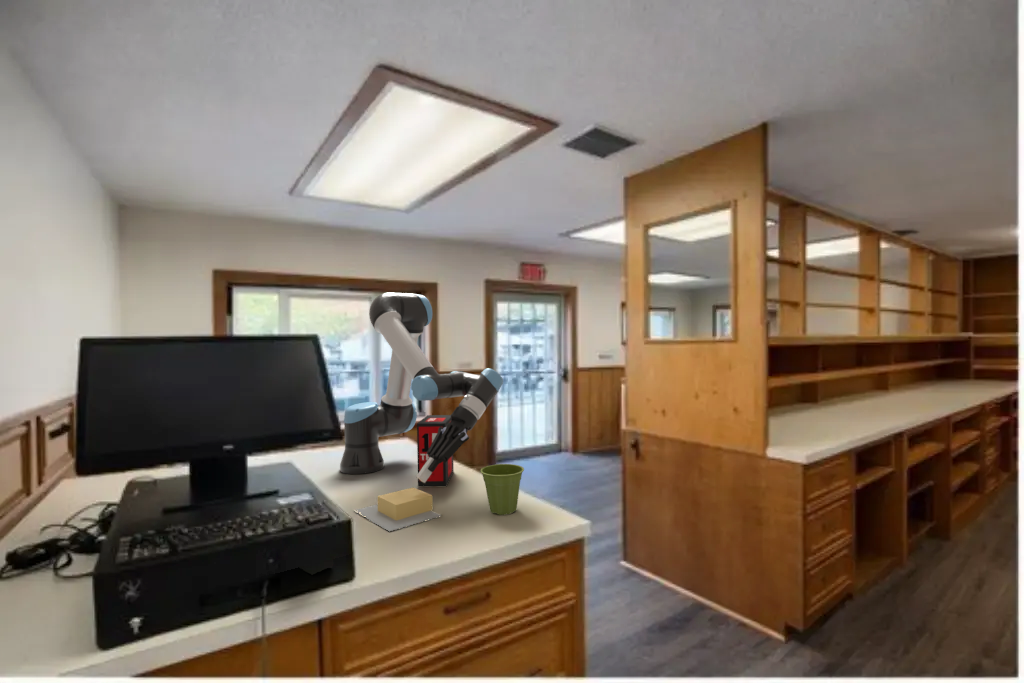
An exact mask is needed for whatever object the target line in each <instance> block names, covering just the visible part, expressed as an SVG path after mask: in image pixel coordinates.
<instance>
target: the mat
mask: <svg viewBox="0 0 1024 683" xmlns="http://www.w3.org/2000/svg"><path fill="white" fill-rule="evenodd" d="M356 510H358V513H359V512H361V514H362V515H363V516H366V518H367V519H369V520H370V521H369V520H368V521H369V522H371V521H372V522H371V523H373V524H374V523H375V524H374V525H376V524H377V525H376V526H378V525H379V526H381V527H382V528H381V527H380V528H381V529H383V528H384V529H383V530H385V529H386V530H388V531H389V532H388V531H387V532H388V533H391V532H390V531H392V532H394V531H393V530H395V531H398V530H397V529H399V528H402V529H404V528H403V527H405V528H407V527H406V526H408V527H411V526H410V525H412V526H414V525H413V524H415V525H417V524H416V523H418V524H420V523H419V522H422V521H425V520H428V519H431V520H433V519H432V518H435V519H437V518H436V517H438V518H440V517H439V516H441V517H442V515H441V514H438V513H437V512H434V511H433V510H431V511H428V512H424V513H421V514H417V515H414V516H410V517H407V518H403V519H400V520H397V521H396V520H394V519H392V518H390V517H389V516H387V515H385V514H383V513H381V512H379V511H378V503H376V504H373V505H369V506H365V507H361V508H357V509H356ZM366 518H365V519H366ZM367 519H366V520H367ZM428 521H429V520H428ZM425 522H426V521H425ZM422 523H423V522H422ZM379 526H378V527H379ZM386 530H385V531H386ZM399 530H400V529H399Z"/></svg>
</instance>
